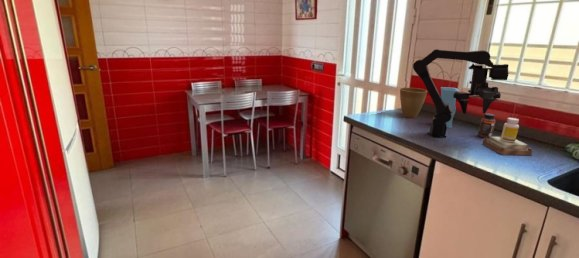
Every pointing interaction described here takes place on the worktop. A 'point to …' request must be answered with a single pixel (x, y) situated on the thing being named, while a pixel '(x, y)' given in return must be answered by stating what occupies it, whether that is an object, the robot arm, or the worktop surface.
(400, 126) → the worktop surface
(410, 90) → the plant pot
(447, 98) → the vase
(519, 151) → the brick base
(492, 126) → the supplement bottle
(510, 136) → the supplement bottle
